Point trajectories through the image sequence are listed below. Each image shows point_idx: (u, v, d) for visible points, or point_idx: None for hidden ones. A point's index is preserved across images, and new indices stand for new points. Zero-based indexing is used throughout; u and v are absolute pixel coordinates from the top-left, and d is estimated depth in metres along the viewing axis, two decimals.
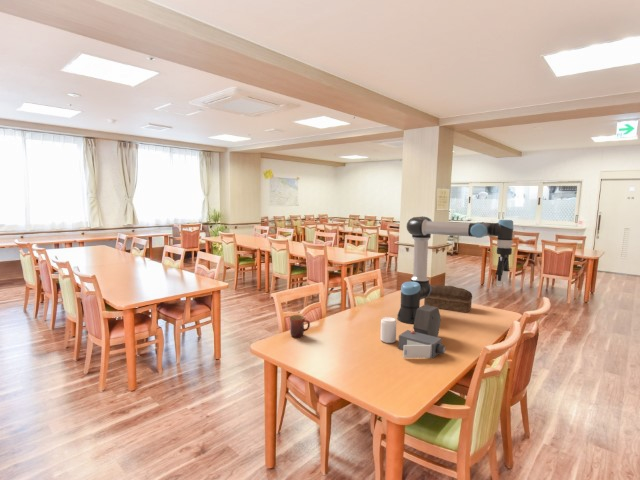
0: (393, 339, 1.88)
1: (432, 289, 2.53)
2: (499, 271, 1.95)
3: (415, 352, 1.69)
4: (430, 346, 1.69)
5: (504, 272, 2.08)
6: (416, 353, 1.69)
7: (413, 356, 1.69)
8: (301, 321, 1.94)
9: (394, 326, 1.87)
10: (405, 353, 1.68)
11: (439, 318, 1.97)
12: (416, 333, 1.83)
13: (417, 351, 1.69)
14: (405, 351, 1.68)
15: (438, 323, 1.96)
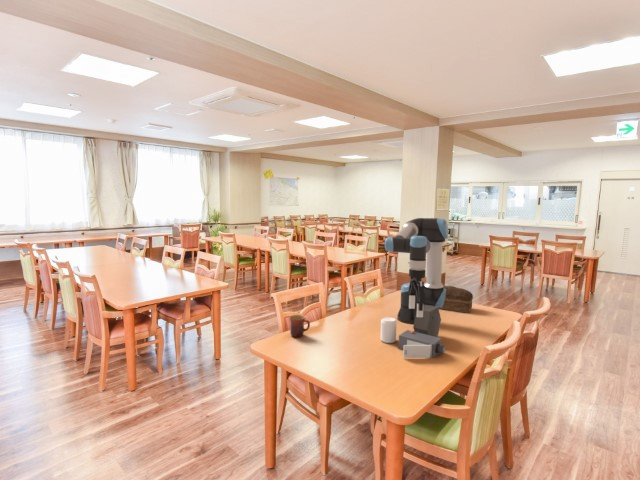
0: (393, 339, 1.88)
1: None
2: None
3: (415, 352, 1.69)
4: (430, 346, 1.69)
5: None
6: (416, 353, 1.69)
7: (413, 356, 1.69)
8: (301, 321, 1.94)
9: (394, 326, 1.87)
10: (405, 353, 1.68)
11: (439, 318, 1.97)
12: (416, 333, 1.83)
13: (417, 351, 1.69)
14: (405, 351, 1.68)
15: (438, 323, 1.96)
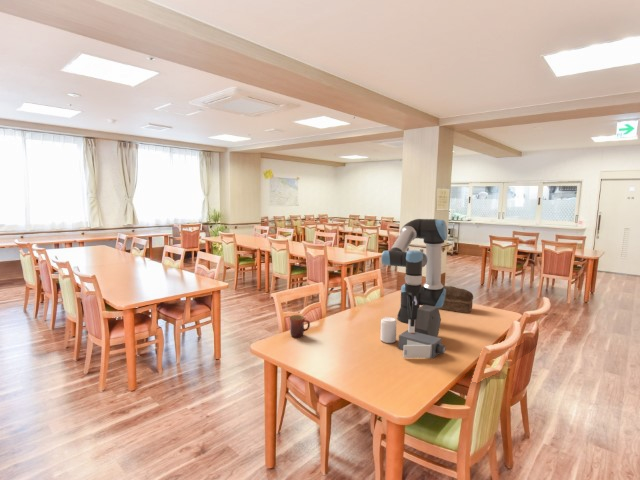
0: (393, 339, 1.88)
1: None
2: None
3: (415, 352, 1.69)
4: (430, 346, 1.69)
5: None
6: (416, 353, 1.69)
7: (413, 356, 1.69)
8: (301, 321, 1.94)
9: (394, 326, 1.87)
10: (405, 353, 1.68)
11: (439, 318, 1.97)
12: (416, 333, 1.83)
13: (417, 351, 1.69)
14: (405, 351, 1.68)
15: (438, 323, 1.96)
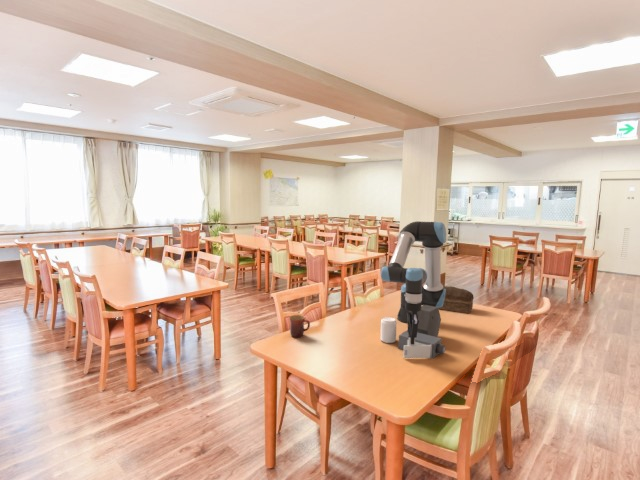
0: (393, 339, 1.88)
1: None
2: None
3: (415, 352, 1.69)
4: (430, 346, 1.69)
5: None
6: (416, 353, 1.69)
7: (413, 356, 1.69)
8: (301, 321, 1.94)
9: (394, 326, 1.87)
10: (405, 353, 1.68)
11: (439, 318, 1.97)
12: None
13: (417, 351, 1.69)
14: (405, 351, 1.68)
15: (438, 323, 1.96)
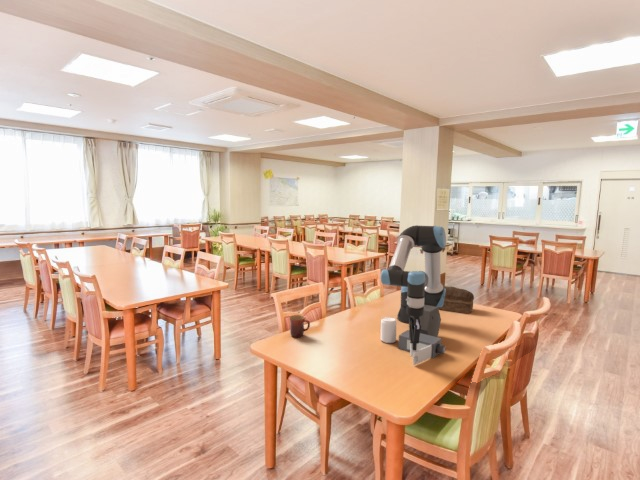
0: (393, 339, 1.88)
1: None
2: None
3: (421, 356, 1.65)
4: (431, 346, 1.69)
5: None
6: (422, 357, 1.65)
7: (420, 361, 1.65)
8: (301, 321, 1.94)
9: (394, 326, 1.87)
10: (416, 360, 1.61)
11: (439, 318, 1.97)
12: None
13: (423, 354, 1.66)
14: (416, 358, 1.61)
15: (438, 323, 1.96)
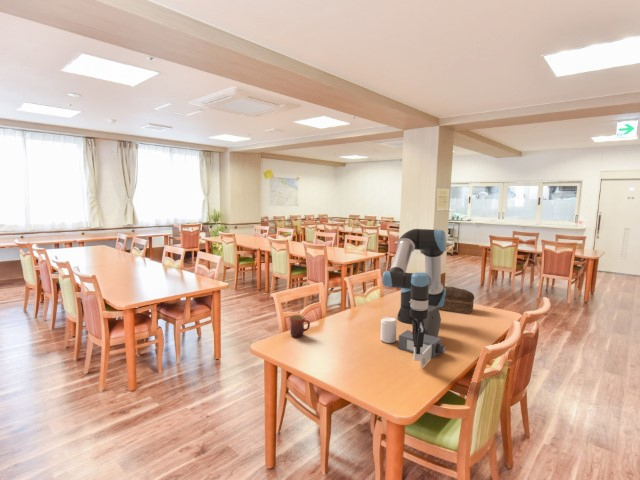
0: (393, 339, 1.88)
1: None
2: None
3: (426, 358, 1.63)
4: (431, 346, 1.69)
5: None
6: (426, 358, 1.64)
7: (425, 362, 1.63)
8: (301, 321, 1.94)
9: (394, 326, 1.87)
10: (424, 362, 1.59)
11: (439, 318, 1.97)
12: None
13: (427, 355, 1.64)
14: (424, 360, 1.59)
15: (438, 323, 1.96)
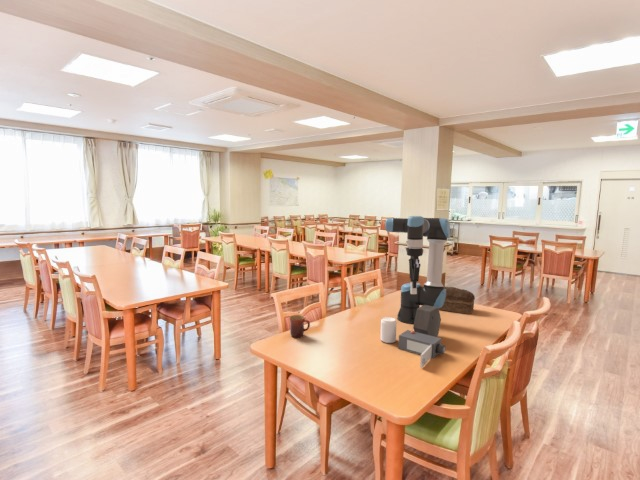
0: (393, 339, 1.88)
1: None
2: None
3: (426, 358, 1.63)
4: (431, 346, 1.69)
5: None
6: (426, 358, 1.64)
7: (425, 362, 1.63)
8: (301, 321, 1.94)
9: (394, 326, 1.87)
10: (424, 362, 1.59)
11: (439, 318, 1.97)
12: (416, 333, 1.83)
13: (427, 355, 1.64)
14: (424, 360, 1.59)
15: (438, 323, 1.96)
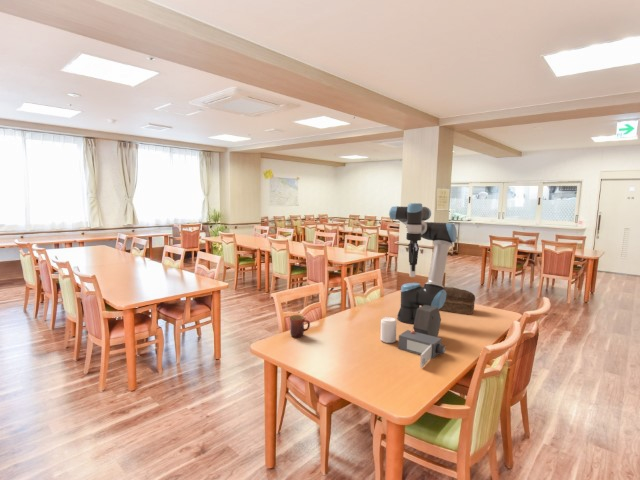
0: (393, 339, 1.88)
1: None
2: None
3: (426, 358, 1.63)
4: (431, 346, 1.69)
5: None
6: (426, 358, 1.64)
7: (425, 362, 1.63)
8: (301, 321, 1.94)
9: (394, 326, 1.87)
10: (424, 362, 1.59)
11: (439, 318, 1.97)
12: (416, 333, 1.83)
13: (427, 355, 1.64)
14: (424, 360, 1.59)
15: (438, 323, 1.96)
